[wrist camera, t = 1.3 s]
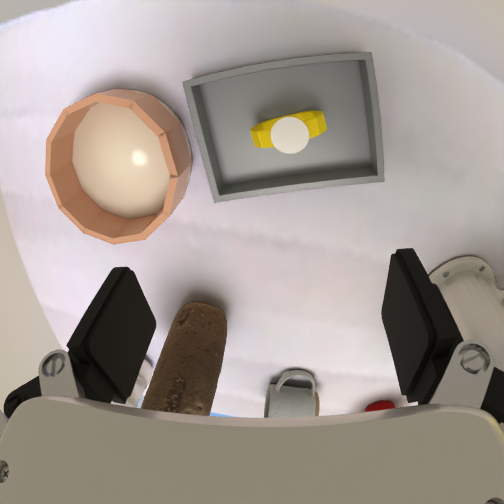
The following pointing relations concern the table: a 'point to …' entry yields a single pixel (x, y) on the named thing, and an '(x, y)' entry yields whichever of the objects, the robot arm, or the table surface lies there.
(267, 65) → the parts tray
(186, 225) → the table surface
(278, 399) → the ceramic mug
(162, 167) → the bowl
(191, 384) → the stone
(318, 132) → the watch
